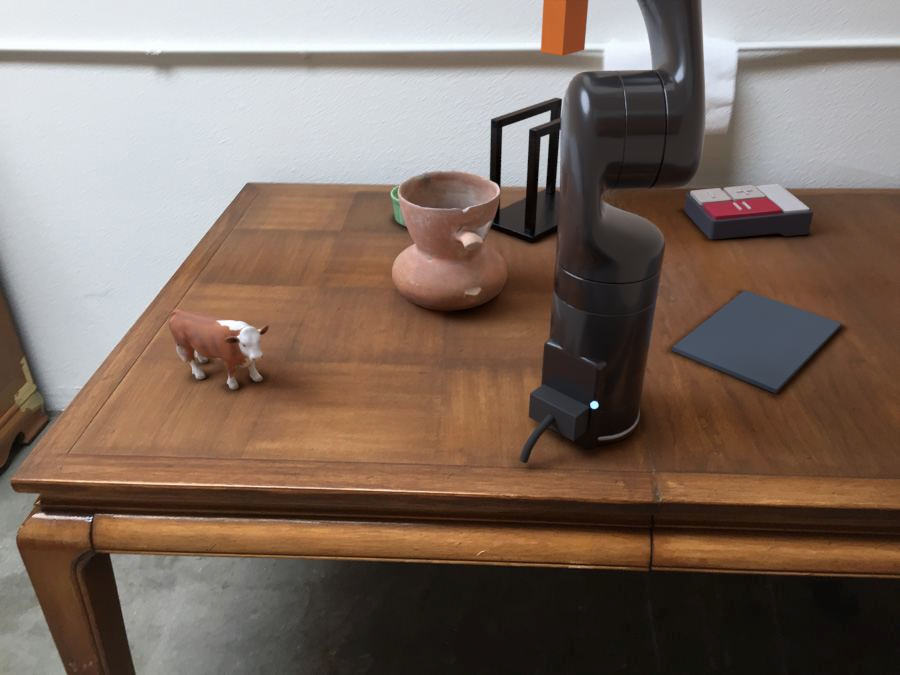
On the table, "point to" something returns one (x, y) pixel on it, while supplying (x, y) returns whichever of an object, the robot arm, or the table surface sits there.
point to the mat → (758, 340)
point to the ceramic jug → (449, 241)
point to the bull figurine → (216, 342)
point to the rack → (529, 175)
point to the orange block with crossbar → (564, 26)
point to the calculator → (747, 211)
